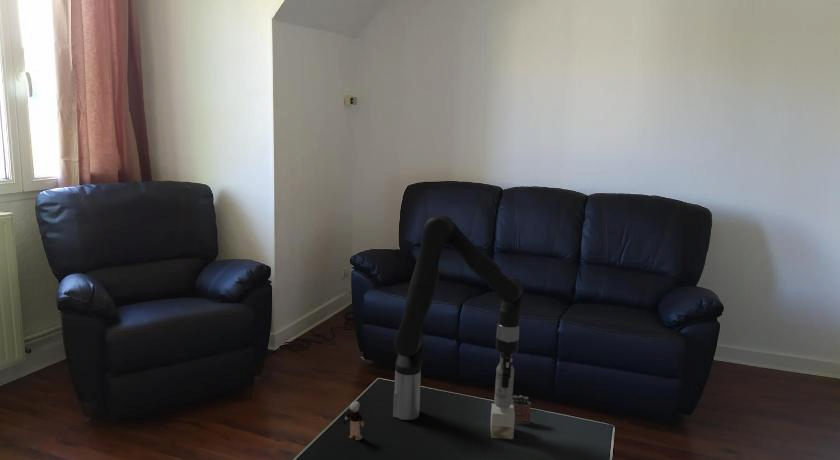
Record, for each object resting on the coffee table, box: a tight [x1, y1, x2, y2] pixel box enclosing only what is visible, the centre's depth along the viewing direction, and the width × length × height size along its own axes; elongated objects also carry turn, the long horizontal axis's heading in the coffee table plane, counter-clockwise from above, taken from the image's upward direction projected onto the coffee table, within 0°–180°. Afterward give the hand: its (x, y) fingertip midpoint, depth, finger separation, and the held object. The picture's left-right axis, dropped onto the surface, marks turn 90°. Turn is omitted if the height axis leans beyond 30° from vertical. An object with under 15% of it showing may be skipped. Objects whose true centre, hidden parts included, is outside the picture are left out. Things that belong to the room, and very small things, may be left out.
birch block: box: [489, 420, 515, 440], centre depth 210 cm, size 8×8×4 cm
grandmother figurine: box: [344, 401, 365, 441], centre depth 203 cm, size 8×4×13 cm, turn 71°
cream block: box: [490, 402, 515, 428], centre depth 209 cm, size 8×8×4 cm
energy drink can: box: [493, 361, 515, 408], centre depth 207 cm, size 6×6×15 cm
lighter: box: [511, 394, 532, 425], centre depth 217 cm, size 8×3×10 cm, turn 84°
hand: (504, 383), depth 207 cm, fingers closed on energy drink can, 6 cm apart
